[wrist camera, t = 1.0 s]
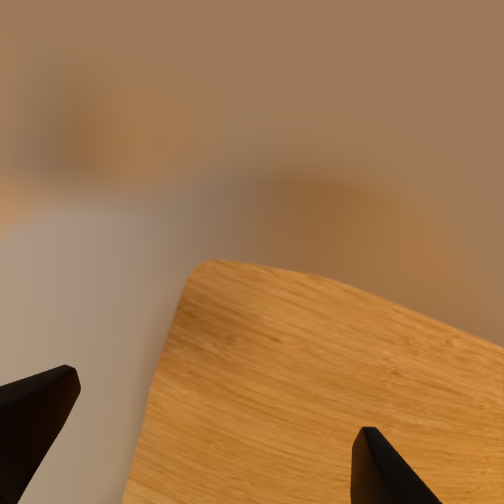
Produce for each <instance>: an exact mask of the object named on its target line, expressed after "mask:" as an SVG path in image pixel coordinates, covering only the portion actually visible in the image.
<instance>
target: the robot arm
mask: <svg viewBox="0 0 504 504" xmlns="http://www.w3.org/2000/svg"><path fill="white" fill-rule="evenodd" d="M80 390H81V385H80V382H79V378H78V374H77V371H76V369H75V368H73V367H71V366H68V365H62V366H59V367H56V368H53V369H51V370H48V371H45V372H42V373H39V374H36V375H33V376H30V377H27V378H24V379H21V380H18V381H15V382H12V383H9V384H6V385H3V386H0V504H17V503H18V501H19V500H20V498H21V496H22V494H23V493H24V491H25V489H26V487H27V486H28V484H29V482H30V480H31V479H32V477H33V475H34V473H35V472H36V470H37V468H38V467H39V465H40V463H41V462H42V460H43V458H44V457H45V455H46V453H47V452H48V450H49V448H50V447H51V445H52V444H53V442H54V440H55V439H56V437H57V436H58V434H59V433H60V431H61V429H62V428H63V426H64V424H65V422H66V420H67V418H68V416H69V414H70V412H71V410H72V408H73V406H74V404H75V401H76V399H77V398H78V396H79V394H80ZM350 493H351V504H442V502H440V501H439V499H438V498H437V497H436V496H435V495H434V494H433V492H432V491H431V490H430V489H429V488H428V487H427V486H426V484H425V483H424V482H423V481H422V480H421V479H420V478H419V476H418V475H417V474H416V473H415V472H414V471H413V470H412V468H411V467H410V466H409V465H408V464H407V463H406V462H405V460H404V459H403V458H402V457H401V456H400V455H399V453H398V452H397V451H396V450H395V449H394V448H393V446H392V445H391V444H390V443H389V442H388V441H387V439H386V438H385V437H384V436H383V435H382V434H381V432H380V431H379V430H378V429H377V428H376V427H362V428H361V429H360V431H359V433H358V435H357V437H356V439H355V441H354V443H353V447H352V467H351V489H350Z"/></svg>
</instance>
